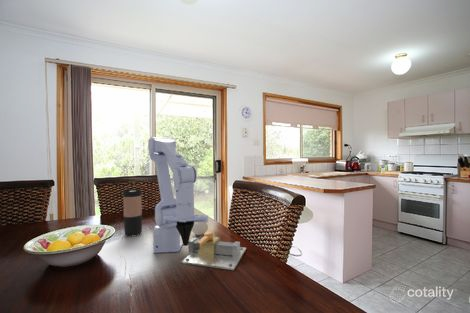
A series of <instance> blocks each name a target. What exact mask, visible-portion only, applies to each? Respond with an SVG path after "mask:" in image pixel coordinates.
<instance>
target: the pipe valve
mask: <svg viewBox="0 0 470 313" xmlns="http://www.w3.org/2000/svg"><path fill="white" fill-rule="evenodd" d="M202 238H203V237H201V238H200V239H199V238H198V237H194V236H193V237H192V238H190V239H189V244H188V253H189V254H190V253H192V252H194V251H195V252H198V254H203V255H212V256H214V255H215V254H222V255H231V256H232V257H237V256H238V255H239V253H240V247H241V242H240V241H237V240H236V241H235V242H230V241H221V240H220V237H219V236H218V237H217V236H213V239H212V240H208V241H207V242H206V243H205V244H204V245H202V246H201V247H200V249H199V250H193V243H196V242H199V241H200V240H201V239H202Z"/></svg>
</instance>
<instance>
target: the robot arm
mask: <svg viewBox="0 0 470 313" xmlns="http://www.w3.org/2000/svg"><path fill="white" fill-rule="evenodd" d="M147 142H148V144H147V146H148V147H147V149H148V154H149V159H150V160H151V161H153V162H154V165H155V170H156V176H157V183H158V189H159V195H160V201H159V202H158V203H157V204H156V205H155V208H154V220H155V224H156V225H155V226H154V229H153V236H152V238H153V242H152V243H153V251H152V252H153V254H156V253H158V254H159V253H179V252H180V250H181V248H182V246H184V247H185V246H188V244H189V241H190V239H191V238H190V237H191V233H192V228H193V225H194V223H195V222H204V223H207V224H208V222H209V215H207V214H205V215H204V214H195V193H194V192H195V188H194V187H195V186H194V185H195V184H194V183H196V181H197V170H196V168H195V166H194V165H191V164H188V163H187V161H186V159H185V158H184V157H183V155H182V154H180V153H178V151H177V142H176V139H175V138H174V137H160V136H159V137H158V136H156V137H155V136H150V137H149V139H148V141H147ZM169 169H170V170H171V173H172V180H171V175H170V170H169ZM172 181H173V185H174V186H172ZM173 188H174V190H175V197H174V191H173ZM181 241H182V242H181Z"/></svg>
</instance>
